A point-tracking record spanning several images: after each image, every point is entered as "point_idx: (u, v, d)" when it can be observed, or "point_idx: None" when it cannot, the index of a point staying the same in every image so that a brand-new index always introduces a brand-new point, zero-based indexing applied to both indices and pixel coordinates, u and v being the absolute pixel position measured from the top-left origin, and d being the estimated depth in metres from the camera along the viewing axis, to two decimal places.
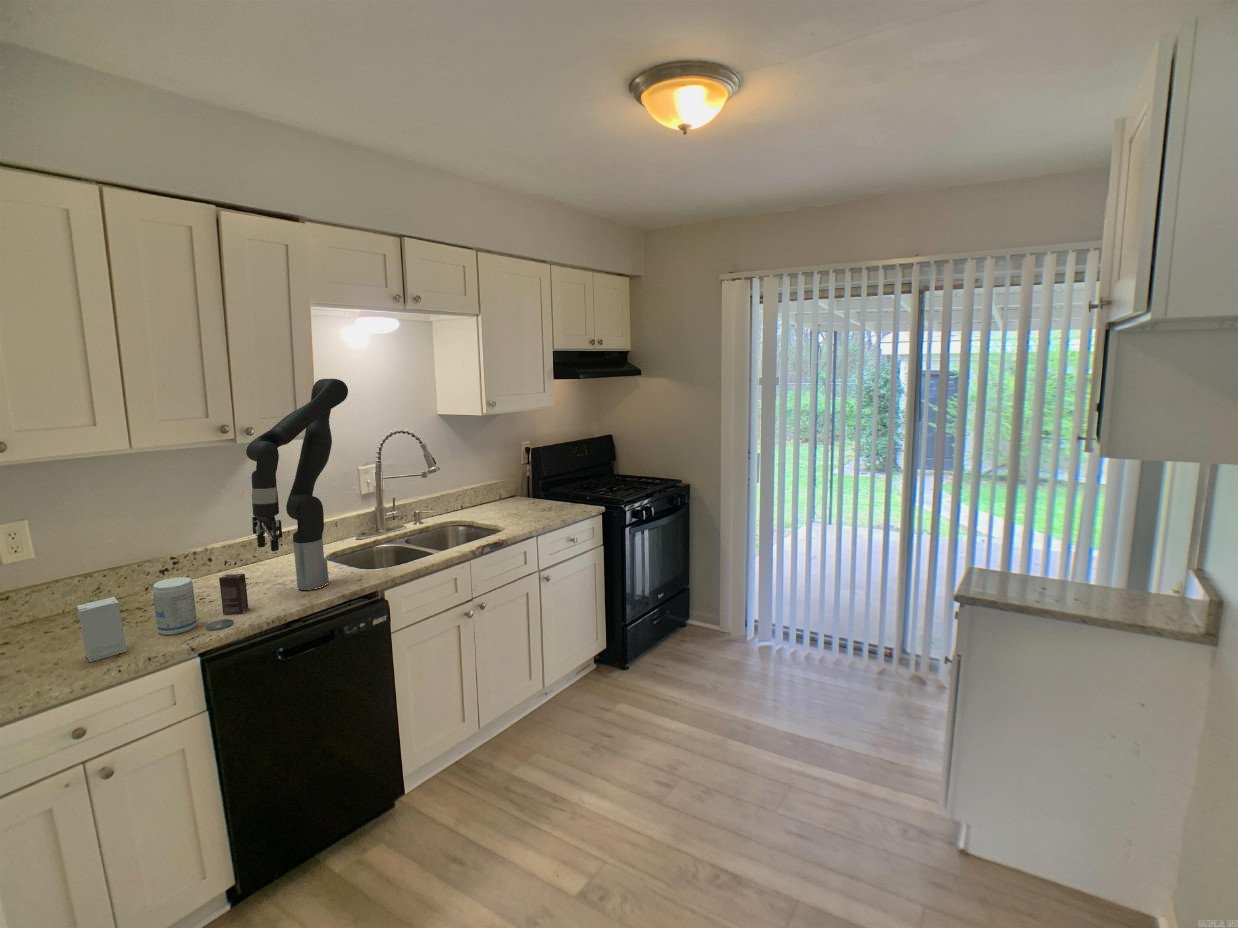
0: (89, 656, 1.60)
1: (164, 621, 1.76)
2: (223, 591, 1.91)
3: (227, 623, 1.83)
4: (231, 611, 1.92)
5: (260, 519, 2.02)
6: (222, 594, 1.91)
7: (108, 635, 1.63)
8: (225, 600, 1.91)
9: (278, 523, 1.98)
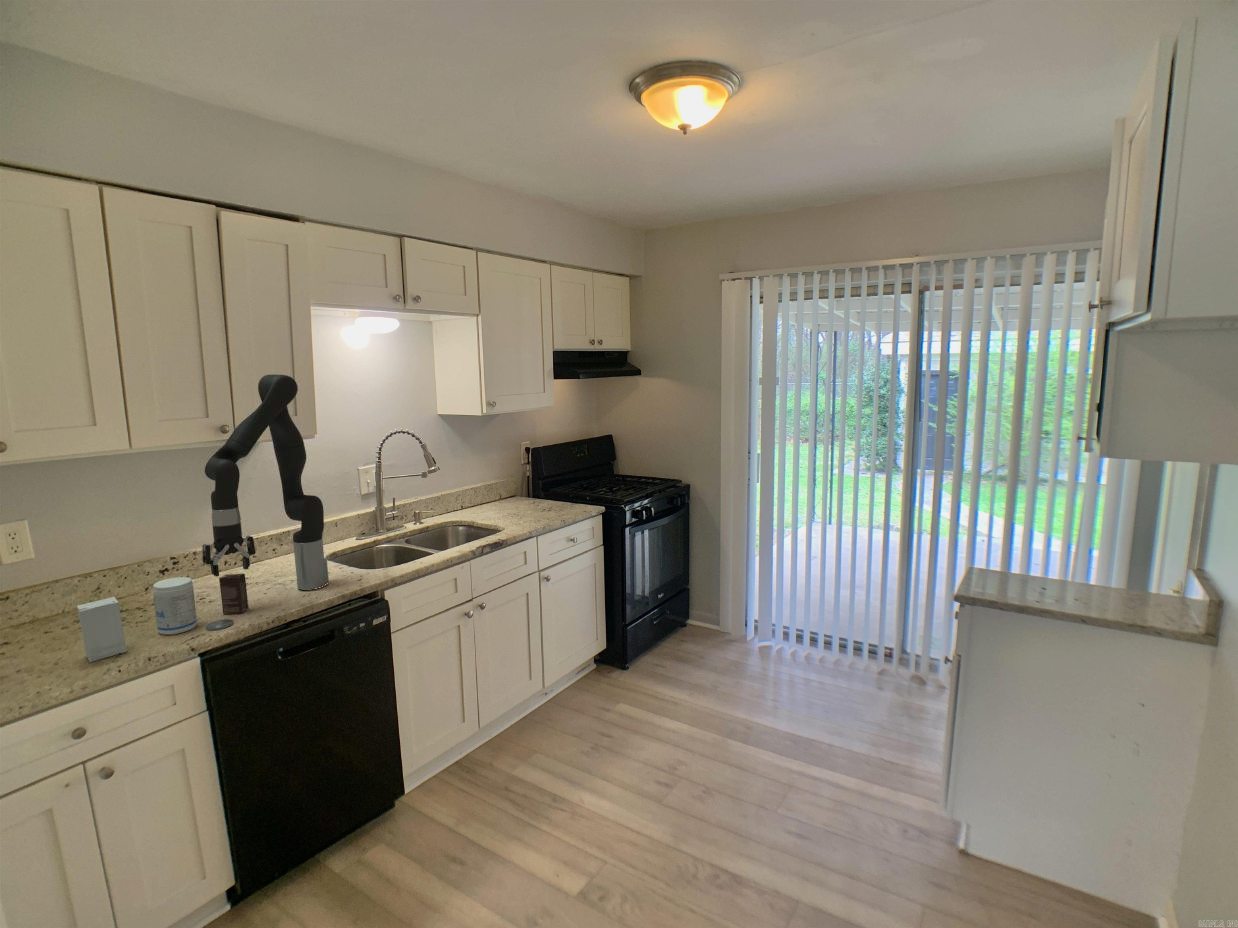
0: (89, 656, 1.60)
1: (164, 621, 1.76)
2: (223, 591, 1.91)
3: (227, 623, 1.83)
4: (231, 611, 1.92)
5: (224, 543, 1.89)
6: (222, 594, 1.91)
7: (108, 635, 1.63)
8: (225, 600, 1.91)
9: None
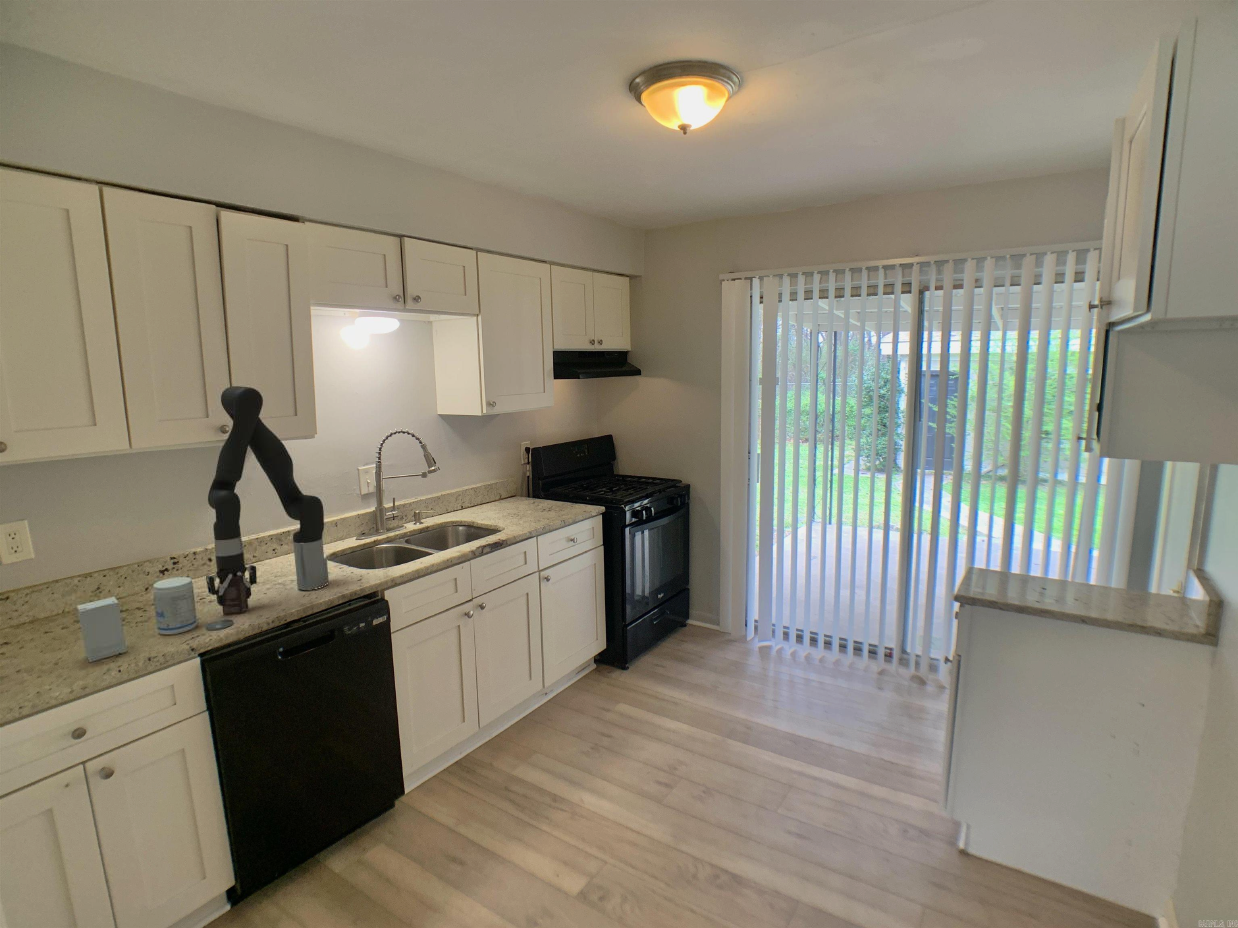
0: (89, 656, 1.60)
1: (164, 621, 1.76)
2: None
3: (227, 623, 1.83)
4: (231, 611, 1.92)
5: (227, 572, 1.90)
6: None
7: (108, 635, 1.63)
8: (225, 600, 1.91)
9: None
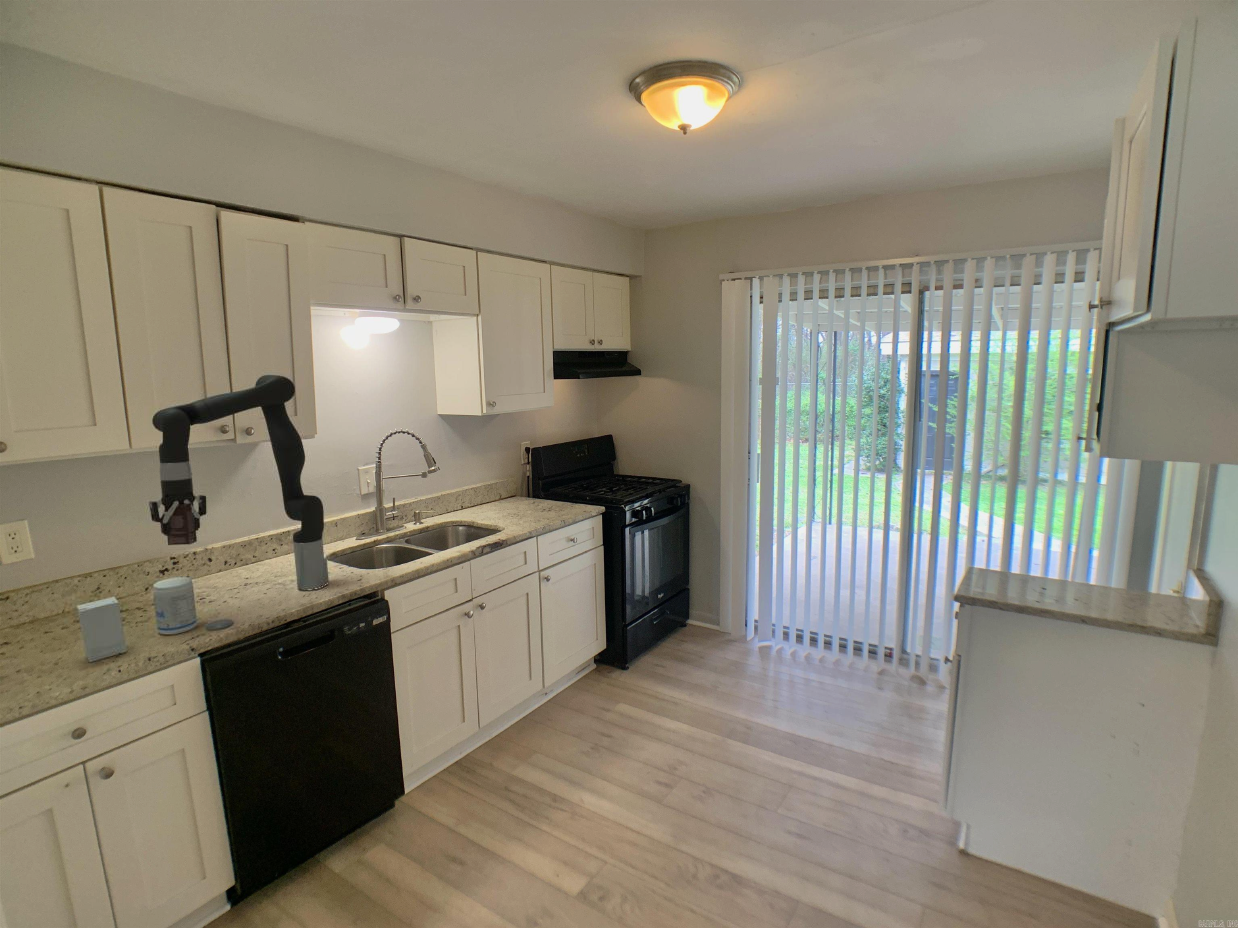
0: (89, 656, 1.60)
1: (164, 621, 1.76)
2: (168, 520, 1.77)
3: (227, 623, 1.83)
4: (176, 542, 1.78)
5: (173, 499, 1.77)
6: None
7: (108, 635, 1.63)
8: (170, 530, 1.78)
9: None
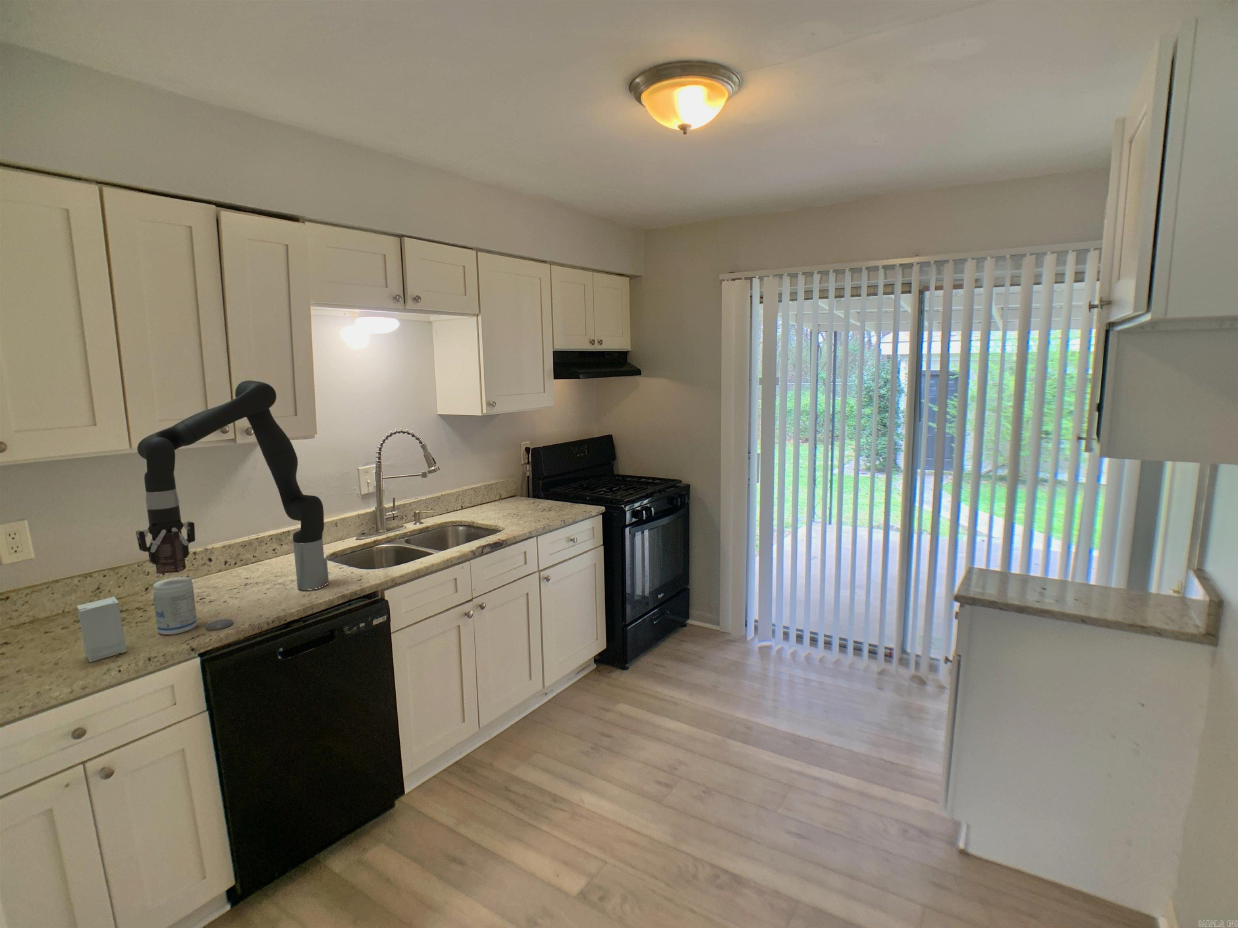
0: (89, 656, 1.60)
1: (164, 621, 1.76)
2: (156, 548, 1.75)
3: (227, 623, 1.83)
4: (165, 570, 1.76)
5: (160, 528, 1.75)
6: (155, 551, 1.75)
7: (108, 635, 1.63)
8: (159, 558, 1.76)
9: None
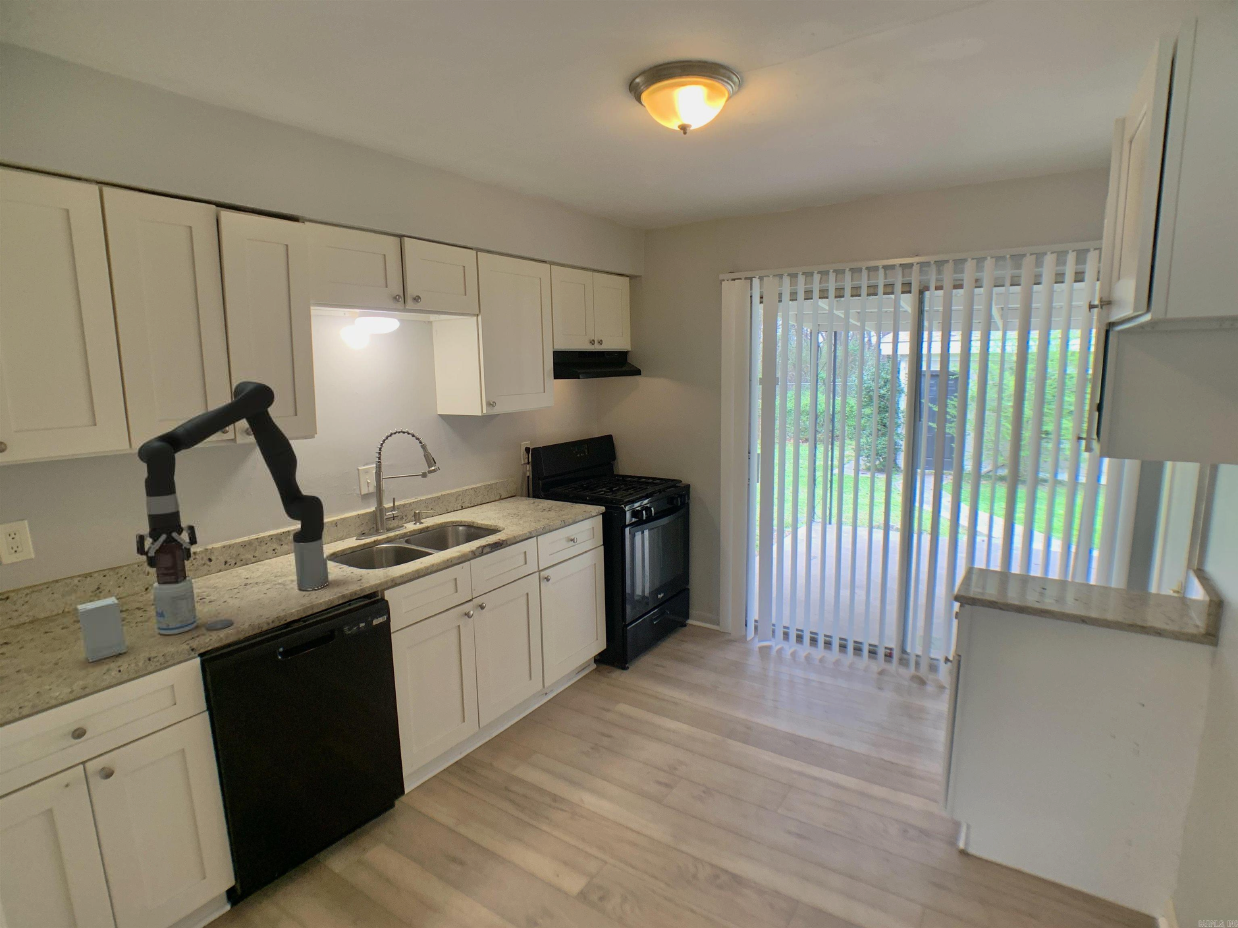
0: (89, 656, 1.60)
1: (164, 621, 1.76)
2: (157, 559, 1.76)
3: (227, 623, 1.83)
4: (166, 581, 1.77)
5: (160, 532, 1.75)
6: (156, 562, 1.76)
7: (108, 635, 1.63)
8: (159, 568, 1.76)
9: None
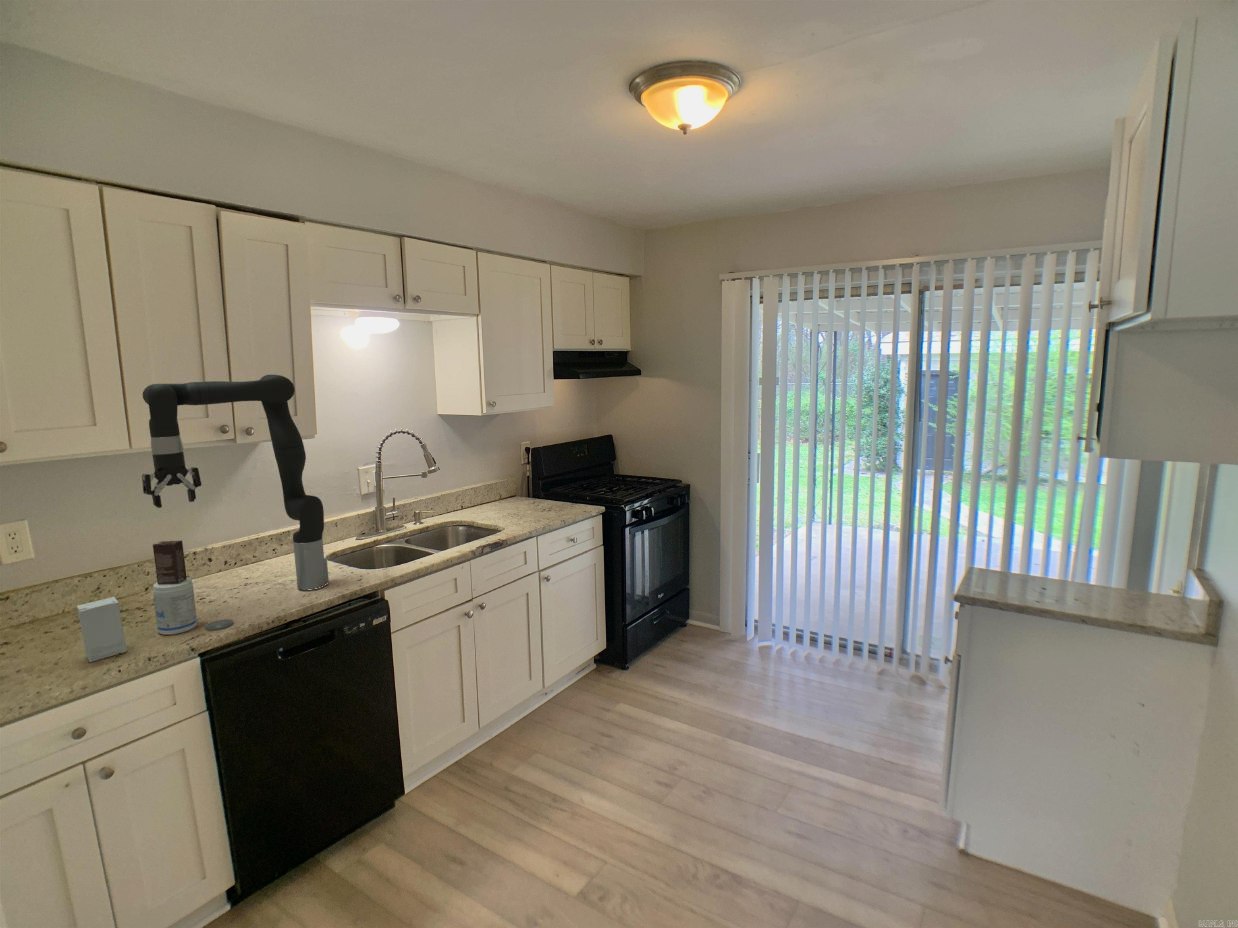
0: (89, 656, 1.60)
1: (164, 621, 1.76)
2: (157, 559, 1.76)
3: (227, 623, 1.83)
4: (166, 581, 1.77)
5: (166, 473, 1.80)
6: (156, 562, 1.76)
7: (108, 635, 1.63)
8: (159, 569, 1.76)
9: None
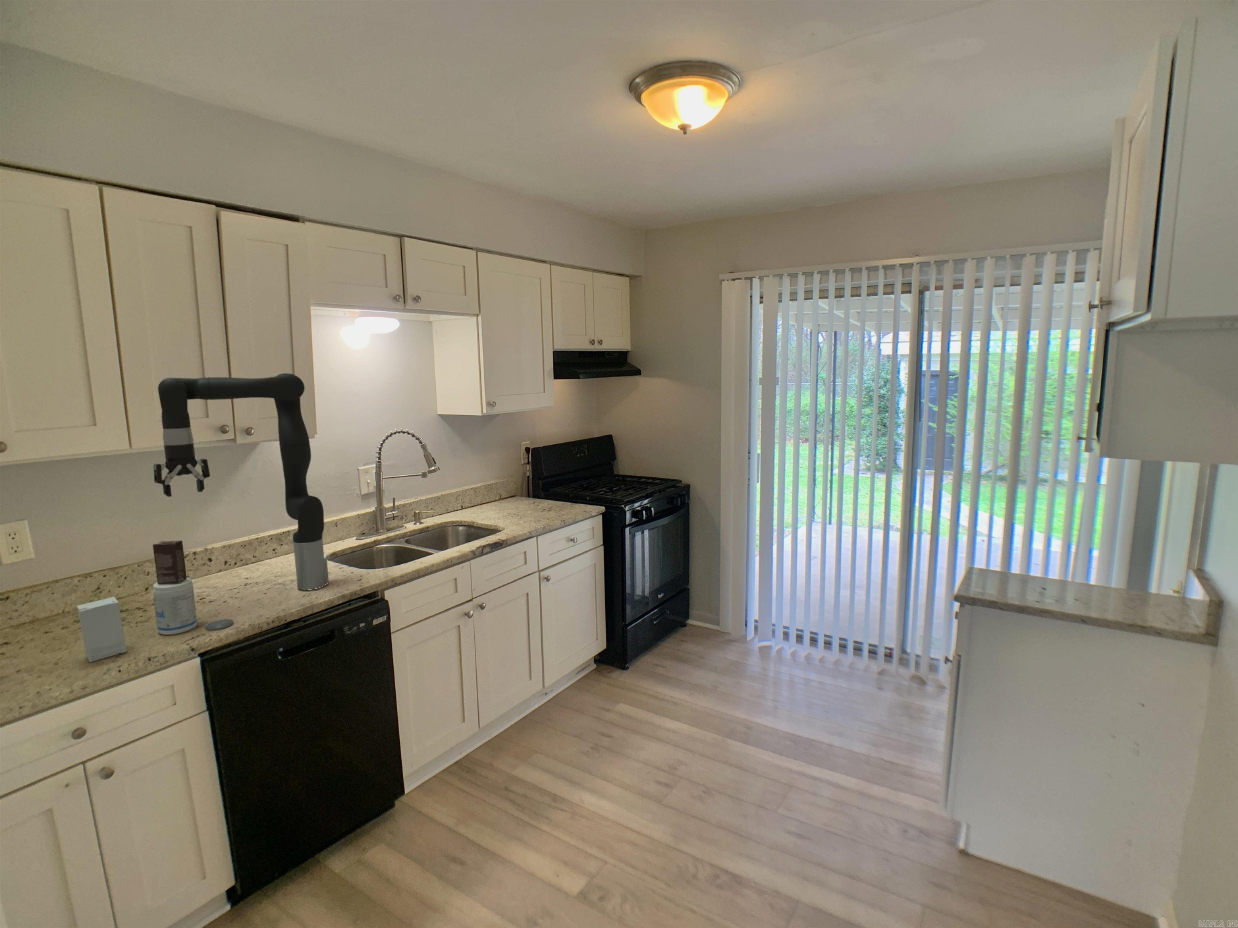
0: (89, 656, 1.60)
1: (164, 621, 1.76)
2: (157, 559, 1.76)
3: (227, 623, 1.83)
4: (166, 581, 1.77)
5: (176, 463, 1.87)
6: (156, 562, 1.76)
7: (108, 635, 1.63)
8: (159, 569, 1.76)
9: None
